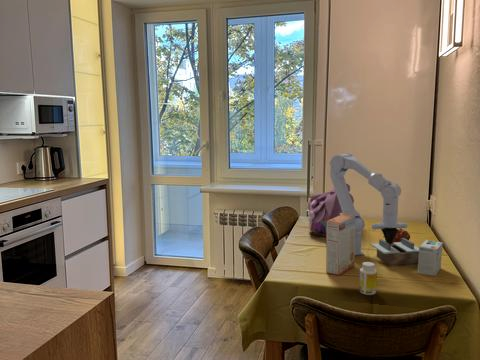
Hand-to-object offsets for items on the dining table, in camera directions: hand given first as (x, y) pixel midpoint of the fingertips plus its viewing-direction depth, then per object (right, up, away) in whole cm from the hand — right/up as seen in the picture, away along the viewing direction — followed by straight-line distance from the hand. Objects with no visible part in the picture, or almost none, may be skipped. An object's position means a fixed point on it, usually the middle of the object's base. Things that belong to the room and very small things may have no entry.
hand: (388, 245), depth 180 cm
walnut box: (+5, -7, +2) cm, 8 cm away
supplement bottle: (-18, -12, -31) cm, 37 cm away
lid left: (-2, -1, 0) cm, 2 cm away
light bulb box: (+12, -9, -10) cm, 18 cm away
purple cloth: (-14, 0, +47) cm, 49 cm away
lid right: (+8, -1, +1) cm, 8 cm away
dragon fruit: (+12, -3, +24) cm, 27 cm away
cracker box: (-22, -8, -8) cm, 25 cm away
